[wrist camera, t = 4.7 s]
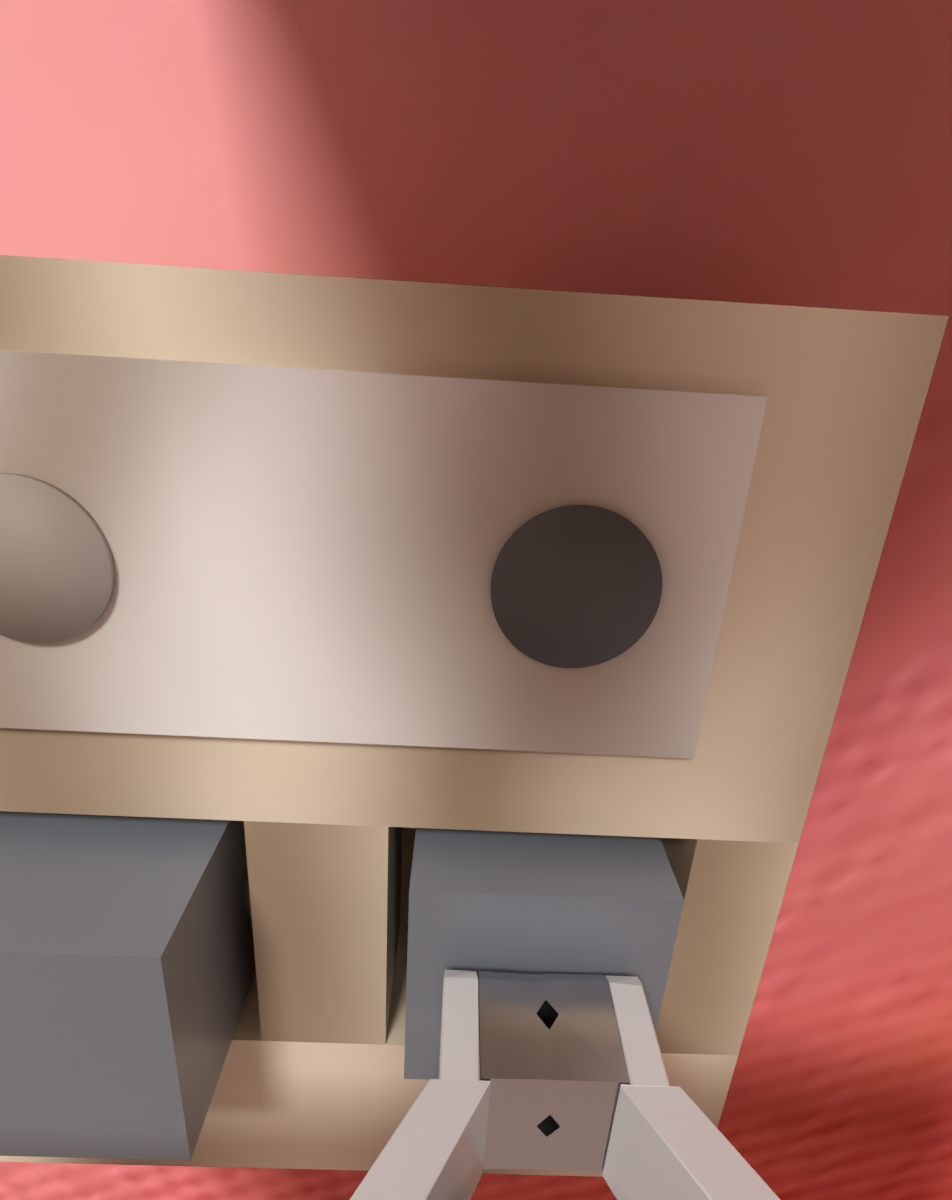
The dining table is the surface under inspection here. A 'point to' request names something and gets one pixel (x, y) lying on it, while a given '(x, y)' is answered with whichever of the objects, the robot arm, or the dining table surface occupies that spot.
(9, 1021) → the middle button
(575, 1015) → the robot arm
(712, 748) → the button board
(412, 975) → the button
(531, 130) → the dining table surface
